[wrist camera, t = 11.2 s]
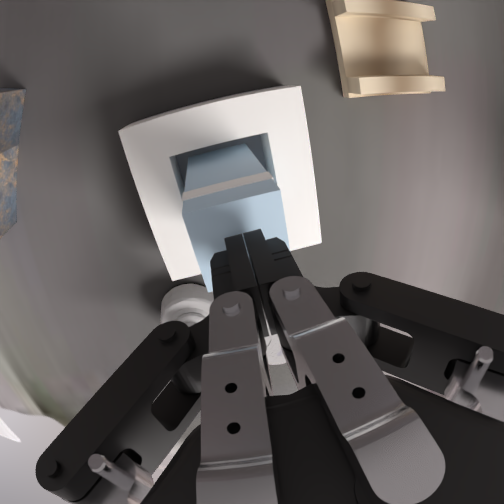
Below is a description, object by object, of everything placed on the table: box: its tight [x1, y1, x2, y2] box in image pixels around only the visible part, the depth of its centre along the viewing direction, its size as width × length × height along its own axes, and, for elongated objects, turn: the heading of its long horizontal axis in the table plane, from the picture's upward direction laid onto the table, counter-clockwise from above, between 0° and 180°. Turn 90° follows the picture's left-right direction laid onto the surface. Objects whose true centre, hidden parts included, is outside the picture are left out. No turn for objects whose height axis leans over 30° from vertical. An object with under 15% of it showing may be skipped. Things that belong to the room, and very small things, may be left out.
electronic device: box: [160, 284, 286, 365], centre depth 26 cm, size 5×10×15 cm
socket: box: [118, 85, 322, 281], centre depth 21 cm, size 11×11×4 cm
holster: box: [325, 0, 445, 98], centre depth 18 cm, size 8×8×3 cm
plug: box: [182, 143, 290, 292], centre depth 18 cm, size 4×4×10 cm
